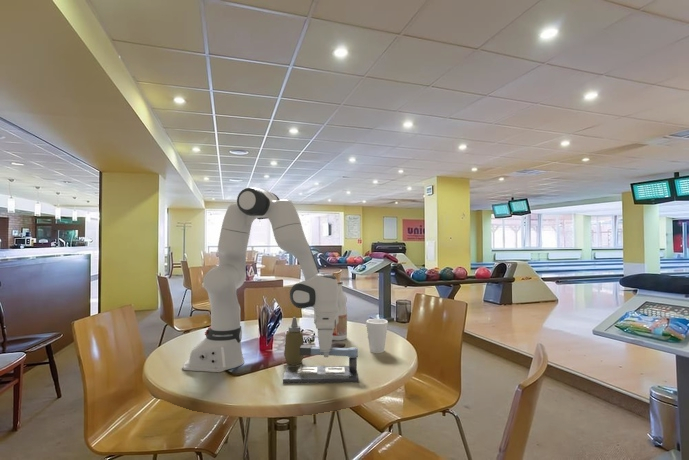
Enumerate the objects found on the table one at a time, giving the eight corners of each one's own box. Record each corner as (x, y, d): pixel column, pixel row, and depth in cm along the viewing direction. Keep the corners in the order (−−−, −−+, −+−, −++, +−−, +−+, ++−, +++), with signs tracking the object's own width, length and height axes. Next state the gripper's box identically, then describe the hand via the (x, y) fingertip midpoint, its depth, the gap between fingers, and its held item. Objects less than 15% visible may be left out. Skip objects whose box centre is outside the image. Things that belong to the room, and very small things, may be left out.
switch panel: (282, 383, 124) (282, 365, 124) (286, 370, 136) (286, 353, 136) (358, 382, 125) (358, 364, 125) (355, 369, 137) (355, 353, 137)
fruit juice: (345, 341, 174) (346, 282, 174) (326, 340, 175) (326, 282, 175) (347, 335, 183) (347, 280, 183) (329, 335, 184) (329, 280, 184)
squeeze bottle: (308, 361, 146) (308, 316, 146) (297, 367, 139) (297, 320, 139) (291, 358, 149) (291, 314, 150) (279, 364, 142) (280, 318, 142)
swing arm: (358, 354, 134) (358, 347, 134) (357, 358, 130) (357, 350, 130) (301, 352, 136) (301, 344, 136) (299, 355, 133) (299, 347, 133)
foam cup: (386, 355, 154) (386, 324, 154) (365, 353, 156) (365, 323, 156) (388, 348, 163) (388, 319, 163) (368, 346, 165) (368, 318, 165)
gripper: (319, 312, 142) (319, 347, 141) (315, 325, 121) (315, 366, 121) (335, 312, 142) (335, 347, 141) (334, 325, 121) (334, 366, 121)
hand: (326, 356), depth 131 cm, fingers closed
